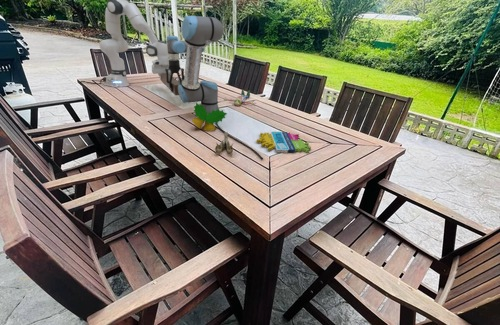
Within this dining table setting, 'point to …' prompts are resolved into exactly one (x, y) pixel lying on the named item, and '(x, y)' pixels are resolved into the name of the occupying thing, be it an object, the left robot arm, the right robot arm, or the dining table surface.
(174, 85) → the post
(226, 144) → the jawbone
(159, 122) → the dining table surface
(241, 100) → the toy
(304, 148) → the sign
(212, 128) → the ornament
